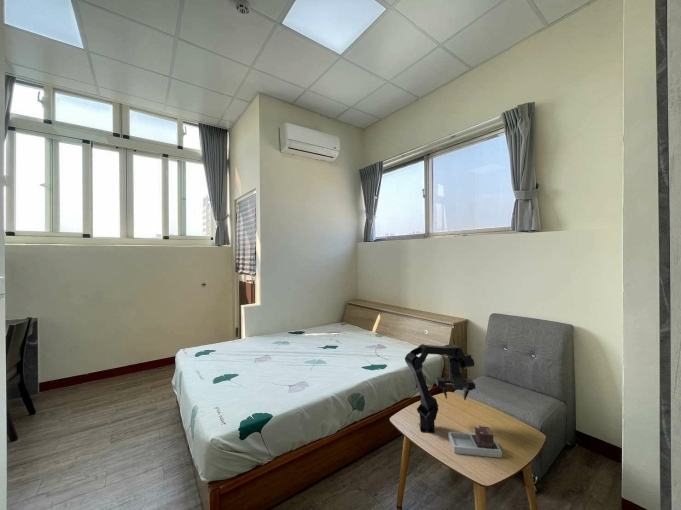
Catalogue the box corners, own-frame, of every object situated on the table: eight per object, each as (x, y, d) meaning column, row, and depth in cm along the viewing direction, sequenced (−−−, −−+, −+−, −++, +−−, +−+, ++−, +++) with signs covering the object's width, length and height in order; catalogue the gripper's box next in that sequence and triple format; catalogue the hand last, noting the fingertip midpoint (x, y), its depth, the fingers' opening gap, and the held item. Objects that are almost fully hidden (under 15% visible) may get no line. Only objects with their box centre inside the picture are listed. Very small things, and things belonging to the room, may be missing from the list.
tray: (454, 453, 120) (454, 446, 120) (448, 437, 130) (448, 431, 130) (501, 457, 117) (501, 451, 117) (491, 441, 127) (491, 435, 127)
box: (494, 451, 119) (493, 435, 119) (479, 450, 120) (479, 433, 120) (488, 442, 125) (488, 426, 125) (475, 441, 126) (474, 425, 126)
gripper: (439, 374, 136) (440, 405, 136) (478, 377, 133) (479, 409, 133) (435, 366, 147) (435, 395, 147) (471, 368, 144) (472, 397, 144)
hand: (455, 399), depth 143 cm, fingers open, 9 cm apart
